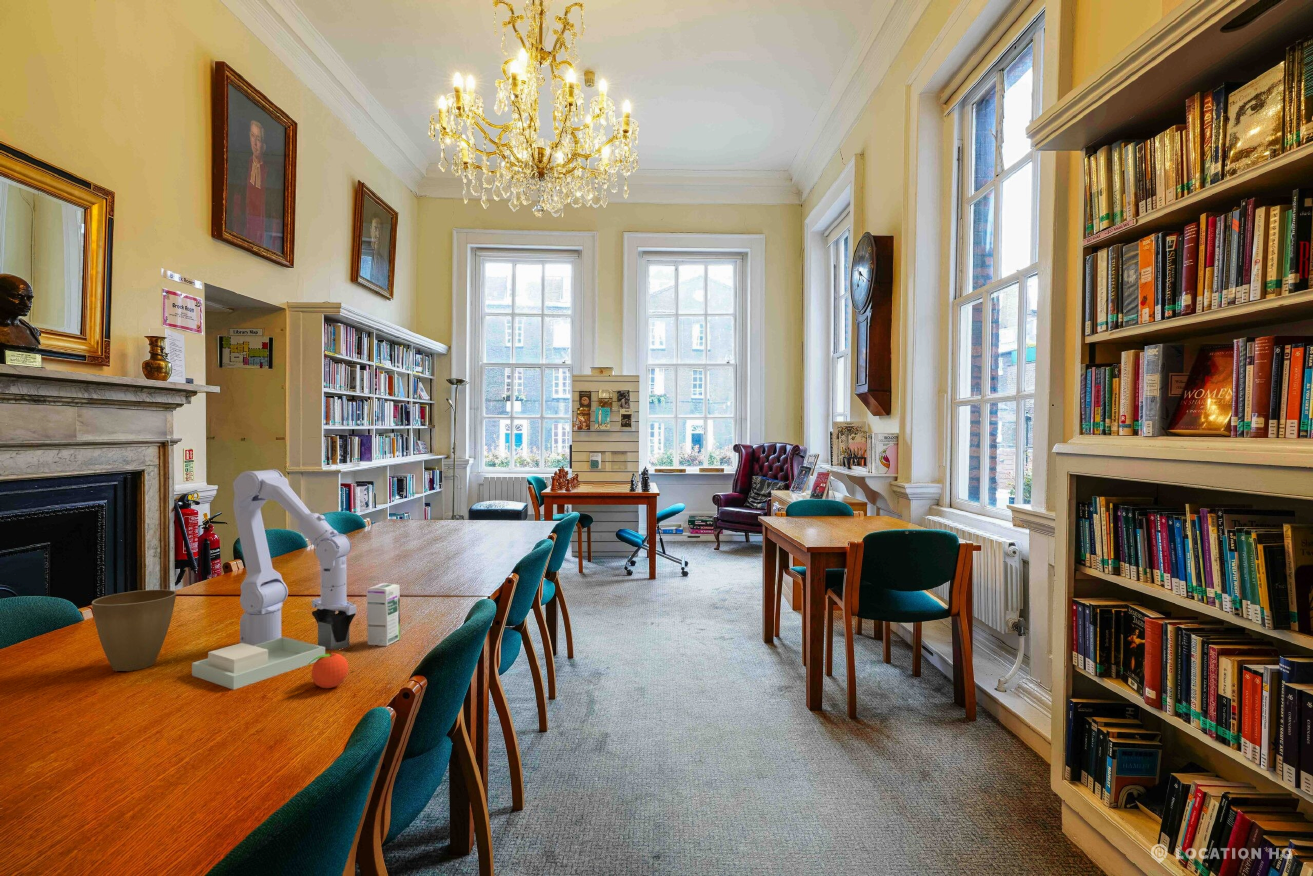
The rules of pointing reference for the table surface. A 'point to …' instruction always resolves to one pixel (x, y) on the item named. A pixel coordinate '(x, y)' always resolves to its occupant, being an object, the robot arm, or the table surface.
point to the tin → (330, 636)
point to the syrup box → (383, 614)
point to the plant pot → (133, 626)
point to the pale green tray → (280, 660)
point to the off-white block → (238, 658)
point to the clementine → (329, 670)
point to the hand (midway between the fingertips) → (333, 639)
